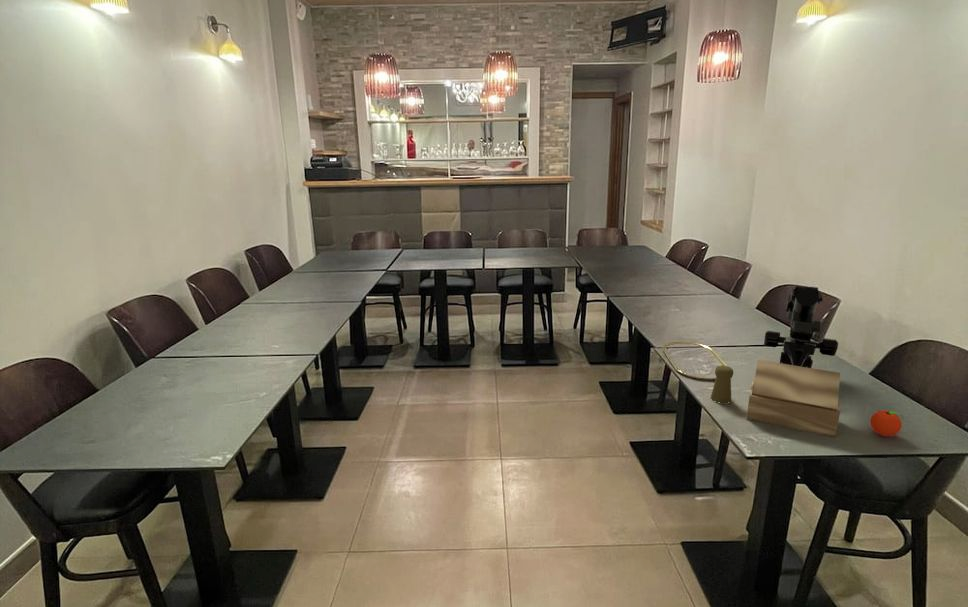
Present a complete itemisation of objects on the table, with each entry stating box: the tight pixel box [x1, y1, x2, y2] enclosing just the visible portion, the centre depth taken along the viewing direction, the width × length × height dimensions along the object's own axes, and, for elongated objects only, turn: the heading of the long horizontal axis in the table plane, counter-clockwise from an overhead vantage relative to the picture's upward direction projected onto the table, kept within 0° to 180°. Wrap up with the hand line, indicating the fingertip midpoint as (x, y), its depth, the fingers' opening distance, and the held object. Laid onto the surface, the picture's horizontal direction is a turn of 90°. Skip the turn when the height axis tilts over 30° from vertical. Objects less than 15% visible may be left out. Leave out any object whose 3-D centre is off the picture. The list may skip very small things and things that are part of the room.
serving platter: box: [662, 341, 728, 381], centre depth 198 cm, size 19×35×2 cm, turn 176°
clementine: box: [869, 409, 904, 437], centre depth 146 cm, size 8×7×7 cm
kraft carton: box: [746, 379, 841, 438], centre depth 155 cm, size 12×22×8 cm, turn 61°
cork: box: [710, 365, 734, 404], centre depth 167 cm, size 6×6×11 cm
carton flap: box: [753, 359, 841, 409], centre depth 151 cm, size 11×21×1 cm
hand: (796, 368), depth 157 cm, fingers closed
